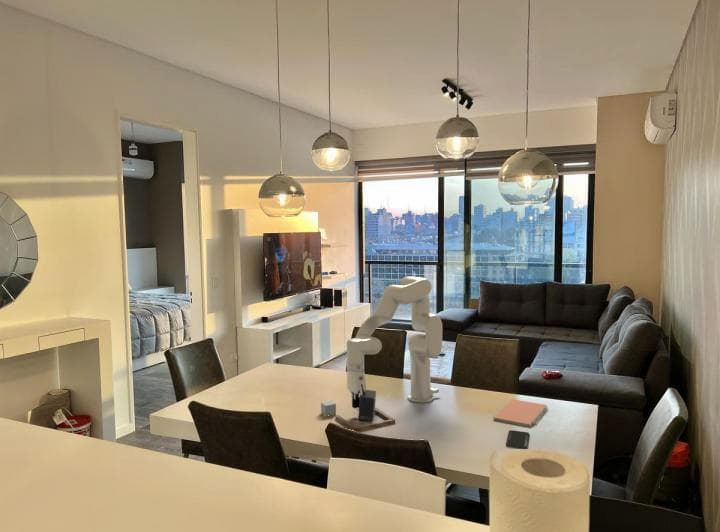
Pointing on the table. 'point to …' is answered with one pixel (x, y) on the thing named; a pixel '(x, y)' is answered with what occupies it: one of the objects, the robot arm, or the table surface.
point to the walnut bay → (368, 426)
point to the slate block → (328, 408)
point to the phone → (517, 439)
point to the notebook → (521, 413)
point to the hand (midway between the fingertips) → (356, 407)
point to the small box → (367, 405)
